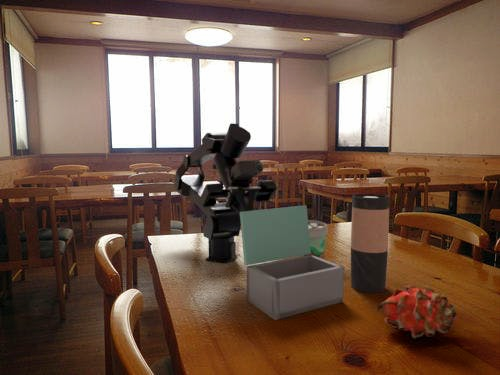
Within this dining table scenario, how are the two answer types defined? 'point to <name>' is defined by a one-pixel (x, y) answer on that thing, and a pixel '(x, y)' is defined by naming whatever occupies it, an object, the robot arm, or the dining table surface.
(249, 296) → the grey rectangular box
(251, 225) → the mint green lid
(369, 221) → the travel mug
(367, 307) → the dining table surface
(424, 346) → the dining table surface
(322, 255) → the food container
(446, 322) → the dragon fruit
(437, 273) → the dining table surface
